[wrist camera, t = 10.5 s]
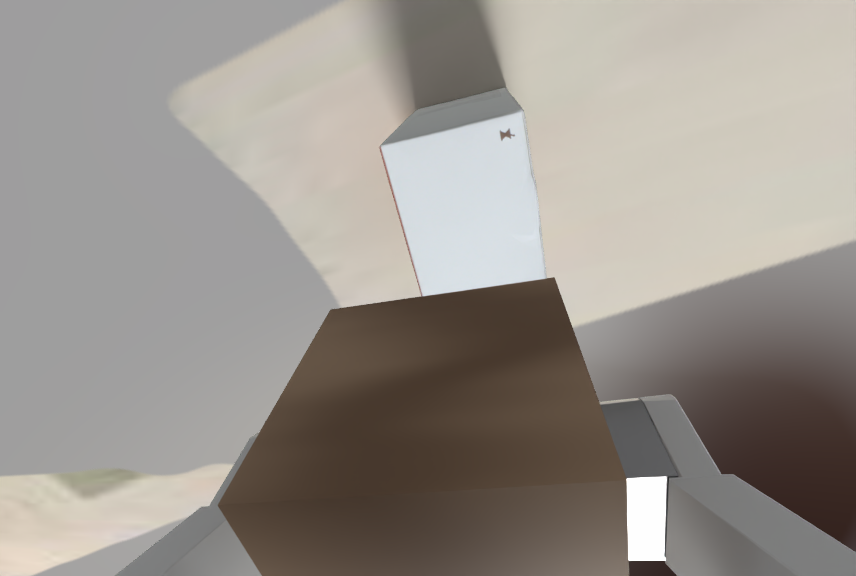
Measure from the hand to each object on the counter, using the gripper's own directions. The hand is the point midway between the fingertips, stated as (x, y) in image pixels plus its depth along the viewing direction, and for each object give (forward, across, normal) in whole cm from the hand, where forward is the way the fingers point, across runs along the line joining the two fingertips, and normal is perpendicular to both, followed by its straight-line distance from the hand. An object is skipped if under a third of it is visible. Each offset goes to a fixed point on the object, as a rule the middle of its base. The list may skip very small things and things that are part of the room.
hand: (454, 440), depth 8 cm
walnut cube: (+2, 0, 0) cm, 2 cm away
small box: (+26, 0, 0) cm, 26 cm away
